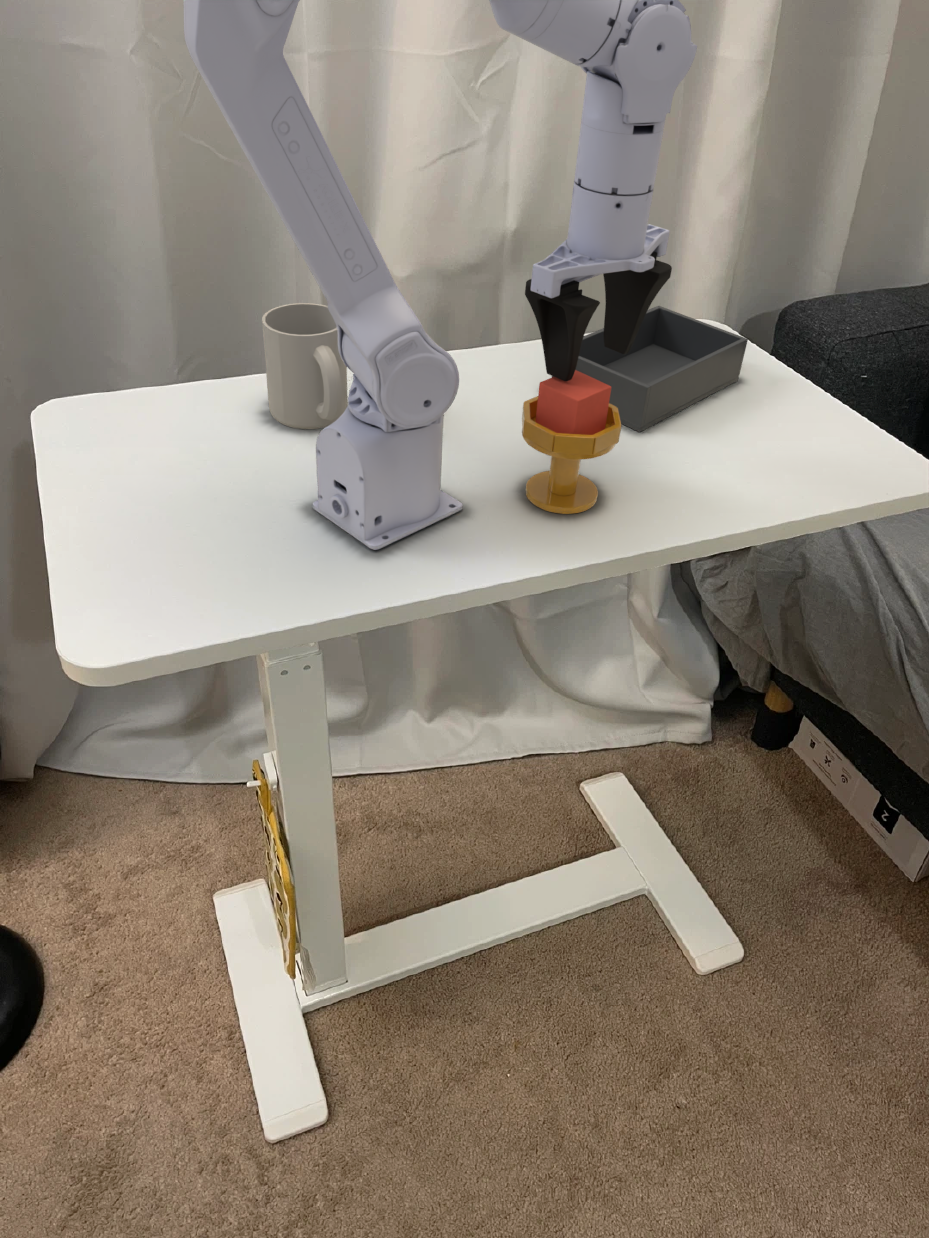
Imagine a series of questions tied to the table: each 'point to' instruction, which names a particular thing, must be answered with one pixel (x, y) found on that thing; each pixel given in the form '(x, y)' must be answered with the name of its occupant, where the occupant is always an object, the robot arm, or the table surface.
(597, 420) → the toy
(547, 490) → the bowl
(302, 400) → the cup
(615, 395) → the bin
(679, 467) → the table surface
